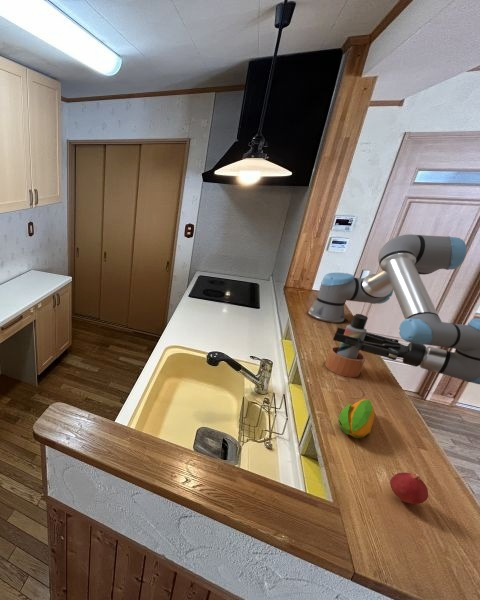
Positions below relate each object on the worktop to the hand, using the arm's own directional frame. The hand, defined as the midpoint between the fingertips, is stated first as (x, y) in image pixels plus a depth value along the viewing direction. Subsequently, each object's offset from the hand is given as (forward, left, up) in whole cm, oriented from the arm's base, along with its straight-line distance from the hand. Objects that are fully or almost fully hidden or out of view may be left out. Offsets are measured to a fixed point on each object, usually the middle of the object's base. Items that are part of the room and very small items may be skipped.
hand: (335, 333), depth 120 cm
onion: (+8, +60, -13) cm, 63 cm away
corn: (+6, +36, -13) cm, 39 cm away
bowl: (-5, +2, -13) cm, 14 cm away
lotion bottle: (-5, +2, -11) cm, 12 cm away
